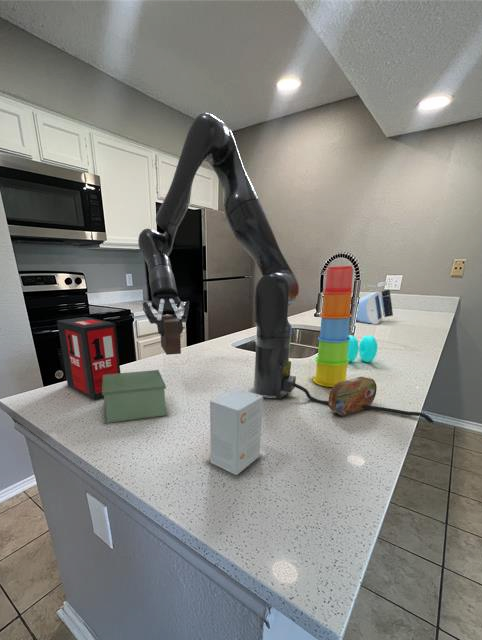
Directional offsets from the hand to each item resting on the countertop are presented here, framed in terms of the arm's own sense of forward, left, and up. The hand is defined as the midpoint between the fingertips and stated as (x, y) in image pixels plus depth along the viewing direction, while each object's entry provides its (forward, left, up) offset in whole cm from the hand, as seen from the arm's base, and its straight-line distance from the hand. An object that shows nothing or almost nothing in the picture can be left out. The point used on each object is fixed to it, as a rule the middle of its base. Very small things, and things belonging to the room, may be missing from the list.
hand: (171, 333), depth 88 cm
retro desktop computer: (-26, -160, -17) cm, 163 cm away
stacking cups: (-36, -34, -17) cm, 52 cm away
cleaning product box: (+21, +12, -17) cm, 30 cm away
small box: (-33, +20, -17) cm, 42 cm away
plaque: (+2, -1, -5) cm, 5 cm away
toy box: (0, +15, -17) cm, 23 cm away
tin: (-46, -16, -17) cm, 51 cm away
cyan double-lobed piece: (-38, -63, -17) cm, 76 cm away
